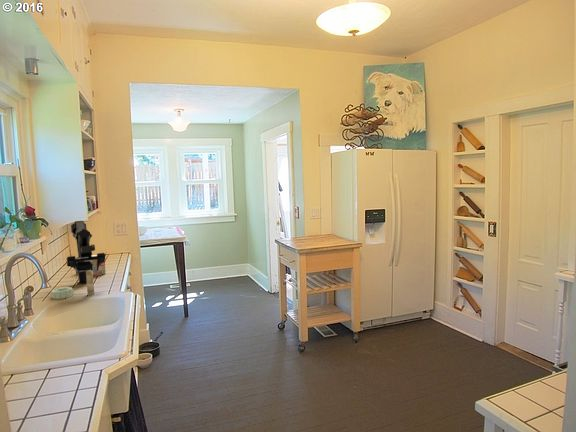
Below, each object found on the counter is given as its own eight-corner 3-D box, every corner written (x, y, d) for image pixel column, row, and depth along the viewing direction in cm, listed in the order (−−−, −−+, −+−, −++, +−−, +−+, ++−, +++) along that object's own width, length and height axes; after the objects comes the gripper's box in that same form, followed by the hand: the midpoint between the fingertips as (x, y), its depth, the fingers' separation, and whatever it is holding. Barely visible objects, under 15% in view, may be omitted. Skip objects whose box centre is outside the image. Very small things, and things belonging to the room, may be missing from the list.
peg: (89, 293, 204) (87, 270, 203) (95, 293, 204) (93, 270, 203) (86, 295, 201) (84, 271, 200) (92, 294, 201) (91, 271, 200)
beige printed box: (77, 273, 257) (76, 255, 256) (86, 271, 263) (85, 253, 262) (97, 276, 246) (95, 257, 245) (105, 274, 252) (104, 255, 251)
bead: (58, 294, 205) (57, 287, 204) (76, 293, 205) (75, 286, 205) (48, 299, 195) (47, 292, 195) (67, 298, 196) (66, 291, 196)
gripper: (65, 241, 203) (68, 265, 195) (103, 238, 214) (108, 260, 205) (65, 254, 210) (68, 277, 202) (102, 250, 221) (106, 272, 212)
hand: (88, 271), depth 205 cm, fingers open, 9 cm apart
